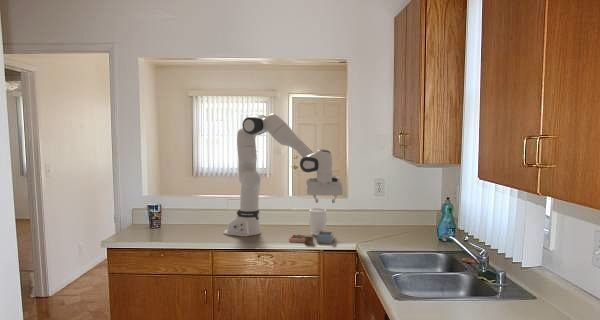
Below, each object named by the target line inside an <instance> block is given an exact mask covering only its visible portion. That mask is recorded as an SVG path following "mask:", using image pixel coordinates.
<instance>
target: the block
mask: <svg viewBox="0 0 600 320" xmlns="http://www.w3.org/2000/svg"><path fill="white" fill-rule="evenodd" d="M305 235H306V236H305V243H304V245H305V246H306V245H309V246H310V245H311V246H312V245H313V244H314V235H313V234H305Z"/></svg>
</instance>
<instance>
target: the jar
mask: <svg viewBox="0 0 600 320" xmlns="http://www.w3.org/2000/svg"><path fill="white" fill-rule="evenodd" d="M308 211H309V216H308V223H309V228H310V231H311V232H310V235H313V236H317V234H318V232H319V231H323V232H325V230H326V224H327V213H326V212H327V209H326V208H321V207H320V208H319V207H318V208H317V207H316V208H310V209H309V210H308Z"/></svg>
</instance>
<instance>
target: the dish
mask: <svg viewBox="0 0 600 320" xmlns="http://www.w3.org/2000/svg"><path fill="white" fill-rule="evenodd" d="M296 235H297V234H291V235H290V236H289V238H288V242H289V243H304V244H305V236H306V235H307V234H300V235H301V239H297V238H296Z"/></svg>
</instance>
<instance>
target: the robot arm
mask: <svg viewBox="0 0 600 320" xmlns="http://www.w3.org/2000/svg"><path fill="white" fill-rule="evenodd" d="M241 126H242V127H241V128H240V129H238V131H237V135H236V146H237V148H236V150H237V157H238V158H237V159H238V160H237V161H238V165H237V166H238V167H237V168H238V181H239V182H240V184H241V185H240V186H241V190H240V196H239V198H240V199H239V203H240V204H239V209H238V210H237V211H236V214H237V215H236V216H235V217H234V218H233V219H231V220H230V221H229V222H228V225H227V229H226V228H225V230H224V231H223V234H224V235H228V236H237V237H249V236H250V237H251V236H257V235H259V234H262V231H261V225H260V209H259V206H260V205H259V203H260V202H259V200H260V199H259V195H260V189H261V175H260V173H258V171H257V159H258V157H257V156H258V155H257V145H256V138H257V135H258V136H260V135H262V134H265V133H266V132H268V133H269V134H270V135H271V137H272V138H273V139H274V140H275V141H276V142H278V144H280V145H282V146H285V147H289V148H292V149H293V150H295V151H296V152H297V153H298V154H299V155H300V156H301V158H300V161H299V167H300V169H301V170H302V171H303V172H304V173H307V174H308V173H313V172H316V178H314V177H313V178H308V179H307V180H306V186H307V188H306V194H307V195H309V196H312V197H313V199H314V202H315V203H316V204H317V203H319V198H317V196H331V195H332V196H333V197H334V198H333V199H331V203H332V204H335V203H336V199H337V197H338V196H342V195H344V194H343V193H344V189H343V183H342V181H341V177H340V176H338V175H334V174H333V169H332V167H333V156H332V152H331V151H330V150H328V149H323V148H320V149H317V150H316V151H315V152H313V151H312V150H311V149H310V148H309V147H308V146H307V144H305V143H304V142H303V141H302V140H301V139H300V138H299V137H298V135H297V134H296V133H295V132H294V131H293V129H292V128H291V127H290V126H289V125H288V124H287V123H286V122H285V120H284V119H283V118H281V117H280V116H279V115H277V114H276V113H270V114H268V115H267V116H265V115H264V114H263V115H261V114H255V115H250V116H247V117H245V119H244V120H243V122H242V125H241Z"/></svg>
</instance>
